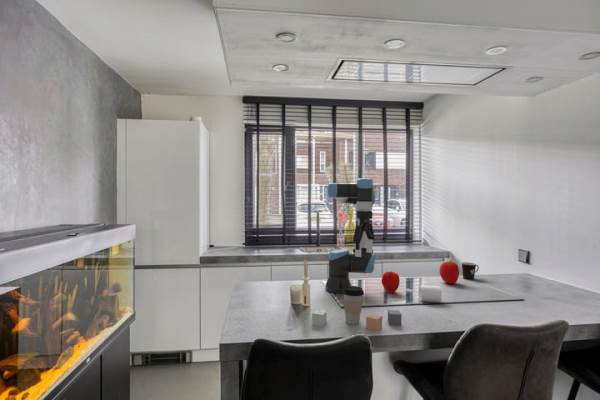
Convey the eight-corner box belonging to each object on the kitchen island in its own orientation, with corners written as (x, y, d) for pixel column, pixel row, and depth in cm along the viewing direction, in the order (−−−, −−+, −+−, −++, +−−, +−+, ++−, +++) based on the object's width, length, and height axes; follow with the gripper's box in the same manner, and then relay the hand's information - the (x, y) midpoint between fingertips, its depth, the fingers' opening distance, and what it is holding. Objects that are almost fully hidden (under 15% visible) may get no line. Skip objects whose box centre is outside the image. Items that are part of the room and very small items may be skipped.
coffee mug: (463, 279, 226) (463, 264, 226) (459, 276, 235) (460, 262, 235) (482, 280, 225) (482, 265, 224) (478, 277, 233) (478, 262, 233)
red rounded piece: (380, 293, 194) (380, 272, 194) (382, 289, 204) (383, 268, 203) (398, 295, 191) (398, 273, 190) (400, 291, 200) (400, 270, 200)
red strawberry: (462, 286, 212) (463, 263, 211) (443, 285, 212) (444, 262, 212) (453, 280, 224) (454, 259, 224) (436, 280, 224) (436, 258, 224)
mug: (441, 304, 176) (442, 289, 176) (421, 303, 178) (421, 287, 178) (437, 297, 188) (437, 283, 188) (418, 296, 190) (418, 281, 190)
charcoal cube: (389, 325, 148) (389, 314, 148) (387, 321, 153) (387, 310, 153) (401, 326, 148) (401, 314, 148) (399, 321, 153) (399, 310, 152)
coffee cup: (339, 318, 155) (340, 285, 155) (360, 318, 156) (360, 285, 156) (344, 326, 146) (344, 291, 146) (366, 326, 147) (366, 291, 146)
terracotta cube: (366, 328, 145) (366, 316, 145) (371, 324, 149) (371, 313, 149) (377, 331, 142) (377, 319, 142) (382, 327, 146) (382, 315, 146)
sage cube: (311, 324, 148) (312, 313, 148) (315, 320, 153) (315, 309, 153) (323, 326, 146) (323, 314, 146) (326, 322, 151) (326, 311, 151)
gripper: (361, 211, 153) (360, 259, 154) (381, 209, 174) (380, 251, 175) (345, 211, 158) (345, 257, 158) (367, 209, 178) (366, 250, 179)
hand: (363, 254), depth 166 cm, fingers open, 13 cm apart
